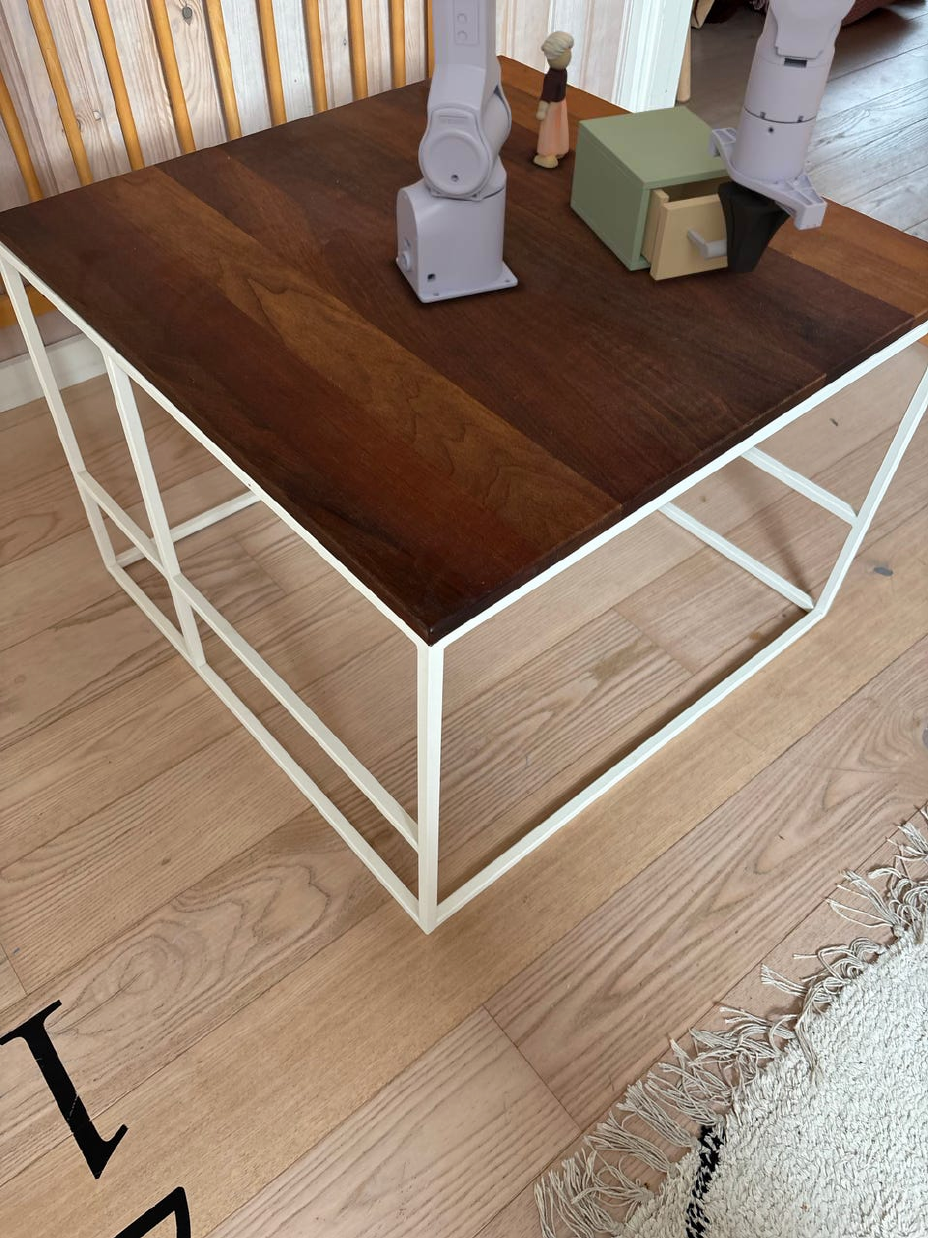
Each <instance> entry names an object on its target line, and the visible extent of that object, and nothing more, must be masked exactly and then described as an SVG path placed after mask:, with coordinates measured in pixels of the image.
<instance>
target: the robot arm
mask: <svg viewBox="0 0 928 1238" xmlns="http://www.w3.org/2000/svg"><path fill="white" fill-rule="evenodd" d="M768 2H769V3H768V7H767V11H766V15H765V16H766V17H765V21H764V25H763V29H762V30H763V31H762V33H761V34H760V36H759V37H758V39H757V42H756V45H755V50H754V55H753V59H752V64H751V69H750V73H749V79H748V83H747V87H746V91H745V96H744V100H743V105H742V108H741V114H740V119H739V123H738V128H737V130H735V129H734V128H733V127H731V126H730V127H724V128H723V127H722V128H717V129H714V130H711V133H710V138H709V143H708V148H707V153H708V154H709V155H710V156H712V157H718V156H719V157H721V158H722V161H723V163H724V166H725V168H726V170H727V173H728V175H729V176H730V177H731V178H732V181H730V182H724V183H722V184H720V185H719V187H718V191H717V193H718V196H719V199H720V201H721V205H722V208H723V213H724V218H725V225H726V237H727V266H728V267H727V269H728V270H730V271H731V273H733V274H734V275H739V274H744V273H749V272H754V271H755V269H756V267H757V265H758V263H759V262H760V260H761V258H762V256H763V254H764V252H765V251H766V249H767V248H768V245H769V244H770V242H771V241H772V240H773V238H774V236H775V235H776V234H777V233H778V232H779V230H780V228H781V227H782V226H783V225H784V224H785V223H786V222H787V221H788V220H789V218H793V219H794V221H793V226H794V227H795V228H796V229H797V230H799V231H804V230H810V229H815V228H819V227H820V228H821V227H822V224H823V220H824V218H825V213H826V210H827V206H828V202H827V201H826V200H825V199H823V198H822V196H821V195H820V194H819V193H818V191H817V189H816V187H815V185H814V184H813V181H812V179H811V178H810V175H809V173H808V172H810V171H811V170H812V167H813V164H814V162H813V161H812V160H811V159H810V158H809V157H807V153H808V150H809V146H810V143H811V140H812V135H813V133H814V128H815V126H816V125H815V124H816V120H817V117H818V114H819V110H820V107H821V103H822V99H823V96H824V92H825V88H826V84H827V82H828V78H829V74H830V71H831V67H832V63H833V60H834V56H835V52H836V47H835V42H836V39H837V37H838V35H839V33H840V30H841V26H842V20H844V19H845V17H846V16H847V15H848V14H849V13H850V11H851V10H852V8H853V6H854V5H855V4H856V3H855V2H856V0H769V1H768ZM496 9H497V0H431V16H432V37H433V38H432V39H433V41H432V42H433V64H434V65H433V72H432V73H433V74H432V77H431V83H430V89H429V93H428V97H427V107H426V108H427V109H426V111H427V124H426V129H425V131H424V134H423V136H422V138H421V140H420V142H419V147H418V153H417V157H418V164H419V169H420V171H421V172H420V173H421V174H422V176H423V177H422V178H421V179H420V180H418V181H416V182H415V183H413V184H410V185H408V186H405V187H402V188H400V189H398V192H397V196H396V232H397V233H396V234H397V257H396V258H395V263H396V264H397V266H398V268H399V270H400V271H401V272H402V274H403V275H404V277H405V278H406V280H407V282H408V283H409V285H410V286H411V288H412V289H413V292H414V293H415V294H416V296H417V297H418V299H419V301H420V302H422V303H423V304H427V303H433V302H439V301H443V300H449V299H454V298H459V297H464V296H470V295H476V294H480V293H486V292H491V291H496V290H502V289H506V288H512V287H516V286H517V285H518V283H519V281H518V280H519V279H517V277H516V276H515V275H514V273H513V272H512V271H511V269H509V267H508V265H507V264H506V263H505V261H504V260H503V255H504V237H505V235H504V234H505V218H506V217H505V213H506V195H507V176H508V175H507V171H506V170H505V168H504V165H503V163H502V160H501V156H500V155H499V153H500V152H501V148H502V147H503V145H504V144H505V142H506V141H507V139H508V138H509V136H510V132H511V128H512V119H513V117H512V111H511V107H510V103H509V102H508V99H507V97H506V96H505V93H504V90H503V87H502V68H501V64H500V62H499V59H498V57H497V42H496V41H497V10H496Z"/></svg>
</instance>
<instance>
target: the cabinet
mask: <svg viewBox="0 0 928 1238" xmlns="http://www.w3.org/2000/svg"><path fill="white" fill-rule="evenodd" d="M711 130H715V129H714V128H713V127H711V126H710V125H709V124H707V122H705V121H704V120H702V119H701V118H700V117H699V116H697V115H696V114H695V113H694V112H692V111H691V110H690V109H689V108H687V107H686V106H685V105H679V106H672V107H664V108H659V109H651V110H650V109H649V110H644V111H638V112H637V111H636V112H631V113H625V114H617V115H610V116H603V117H596V118H589V119H582V120H579V121H578V130H577V139H576V149H575V157H574V158H575V159H574V168H573V178H572V187H571V188H572V189H571V197H570V198H571V199H570V207H571V209H572V210H573V211H574V212H575V213H576V214H577V216H579V217H580V219H581V220H583V222H584V223H585V224H586V225H587V226H588V227H589V229H591V230H592V231H593V232H594V233H595V235H596V236H597V237H598V238H599V239H600V240H601V241H602V242H603V243H604V245H606V246H607V247H608V248H609V250H611V252H612V253H613V254H614V255H615V256H616V257H617V258H618V259H619V260H620V262H622V264H623V265H624V266H625V267H626V268H627V269H628V270H629V271H632V272H633V271H636V270H643V269H648V268H651V265H652V263H650V262H649V261H648V260H647V259H646V258H645V257H644V256H643V255H642V254H641V253H640V251H641V245H642V239H643V232H644V226H645V220H646V214H647V208H648V202H649V195H650V189H654V188H660V187H666V186H672V185H678V184H684V183H690V182H696V181H702V180H708V179H713V178H719V177H725V176H729V175H728V173H727V170H726V168H725V166H724V163H723V161H722V158H721V157H719V156H718V157H712V156H710V155H709V154H708V153H707V148H708V143H709V138H710V133H711Z"/></svg>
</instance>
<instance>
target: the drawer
mask: <svg viewBox="0 0 928 1238" xmlns="http://www.w3.org/2000/svg"><path fill="white" fill-rule="evenodd" d="M730 181H732V178H731V177H730V176H725V177H719V178H713V179H708V180H702V181H696V182H690V183H684V184H678V185H672V186H666V187H660V188H654V189H650V195H649V202H648V208H647V214H646V220H645V226H644V232H643V239H642V245H641V251H640V253H641V254H642V255H643V256H644V257H645V258H646V259H647V260H648V261H649V262H650V263H652V265H651V267H650V272H649V275H650V276H651V277H652V278H653V279H654V280H655V281H660V280H667V279H670V278H676V277H681V276H686V275H691V274H697V273H702V272H707V271H712V270H717V269H721V268H726V267H727V268H728V266H727V237H726V225H725V218H724V213H723V208H722V205H721V201H720V199H719V196H718V193H717V191H718V187H719V185H720V184H722V183H724V182H730Z"/></svg>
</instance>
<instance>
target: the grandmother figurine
mask: <svg viewBox="0 0 928 1238" xmlns="http://www.w3.org/2000/svg"><path fill="white" fill-rule="evenodd" d="M574 46H575V39H574V36H573V35H571V34H570V33H568V32H565V31H564V30H556V31H553V32H552V33H550V34H549V35H548V37H547V38H546V39H545V40H544V42H543V44H542V45H541V46H540V49H541V51H542V52H543V54H544V57H545V58H546V62H547V64H548V66H549V69H548V70H547V72H546V74H545V75H544V78H543V83H542V90H541V94H540V97H539V104H538V108H537V112H536V114H535V118H536V120H537V121H538V122H540V126H539V132H538V139H537V148H536V153H537V155H535V157H534V159H533V163H534V164H536V165H538V166H541V167H543V168H546V169H547V168H548V169H552V168H555V167H557V166H558V165H559V161H558V159H561V158H563V157H564V156H565V154H567V153H569V150H570V148H569V147H570V136H569V133H570V132H569V120H568V119H569V118H568V107H567V100H566V96H567V93H568V75H569V74H568V73H569V72H568V70H567V67H569V66H570V63H571V61H572V57H573V55H572V49H573V47H574Z"/></svg>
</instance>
